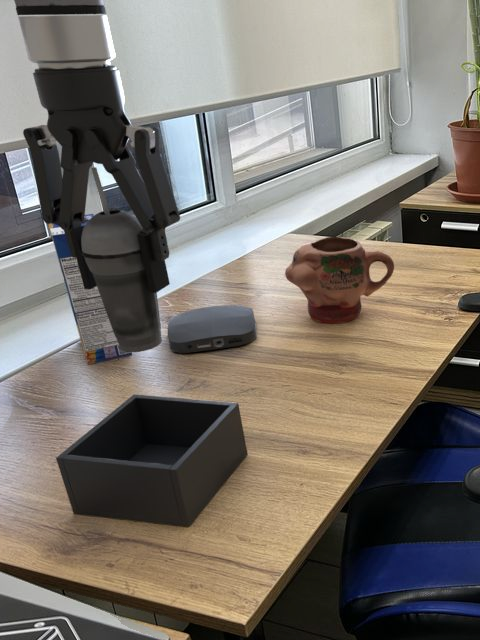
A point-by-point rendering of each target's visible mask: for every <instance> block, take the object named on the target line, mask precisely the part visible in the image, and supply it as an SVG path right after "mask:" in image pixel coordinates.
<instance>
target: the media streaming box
mask: <svg viewBox="0 0 480 640" xmlns="http://www.w3.org/2000/svg"><path fill="white" fill-rule="evenodd" d="M256 338H257V325H256V320H255V314H254V310H253V308H251V307H249V306H245V305H238V304H237V305H235V304H231V305H230V304H229V305H228V304H225V305H211V306H205V307H200V308H196V309H191V310H187V311H184V312H182V313H179V314H177V315H175V316H172V317H171V318H170V319H169V321H168V323H167V339H168V344H169V349H170V351H172V352H175V353H180V354H189V353H196V352H204V351H212V350H218V349H219V350H220V349H225V348H226V349H227V348H231V347H232V348H233V347H239V346H243V345H246V344H248V343H251V342H252V341H254V340H255V339H256Z"/></svg>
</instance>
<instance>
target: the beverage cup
mask: <svg viewBox="0 0 480 640" xmlns="http://www.w3.org/2000/svg"><path fill="white" fill-rule="evenodd" d="M90 169H91V172H92V175H93V176H92V177H93V178H94V183H95V185H96V190H97V192H98V195H99V199H100V203H101V206H102V209H103V211H100V212H98V213H96V214H94V216H93V217H92V218H91V219H90V220H89V221H88V222H87V223H86V225H85V227H84V229H83V232H82V237H81V246H82V255H83V256H84V258H85V261H86V263H87V265H88V267H89V269H90V271H91V272H92V274H93V276H94V279H95V282H96V285H97V287H98V290H99V293H100V296H101V299H102V301H103V304H104V307H105V310H106V313H107V315H108V318H109V321H110V324H111V326H112V329H113V332H114V335H115V337H116V339H117V341H118V343H119V346H120V349H121V350H122V351H125V352H132V353H141V352H145V351H149V350H153V349H154V348H157V347H159V345H161V344H162V342H163V339H162V325H161V317H160V308H159V307H160V306H159V300H158V292H157V293H151V292H150V290H149V286H148V281H147V277H146V272H145V268H144V263H143V259H142V254H141V250H140V245H139V241H138V236H137V234H139V233H140V231H142V230H143V228H142V226H141V225H140V223H139V221H138V219H137V218H136V216H135V214H132V213H130V212H128V211H125V210H121V209H109V206H108V202H107V198H106V196H105V192H104V189H103V185H102V182H101V178H100V175H99V171H98V168H97V167H96V166H95V167H94V166H93V167H90Z"/></svg>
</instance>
